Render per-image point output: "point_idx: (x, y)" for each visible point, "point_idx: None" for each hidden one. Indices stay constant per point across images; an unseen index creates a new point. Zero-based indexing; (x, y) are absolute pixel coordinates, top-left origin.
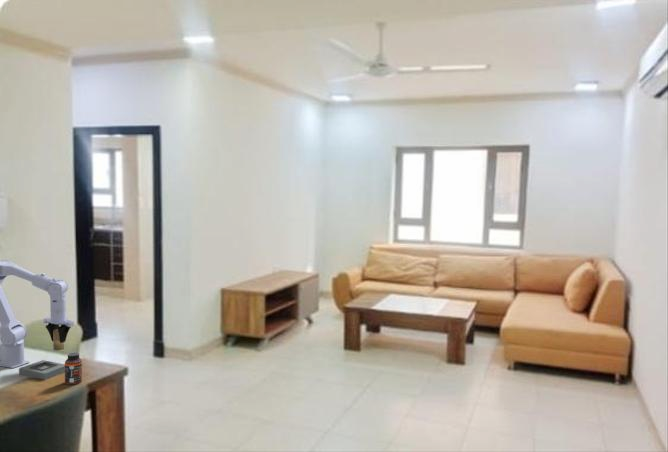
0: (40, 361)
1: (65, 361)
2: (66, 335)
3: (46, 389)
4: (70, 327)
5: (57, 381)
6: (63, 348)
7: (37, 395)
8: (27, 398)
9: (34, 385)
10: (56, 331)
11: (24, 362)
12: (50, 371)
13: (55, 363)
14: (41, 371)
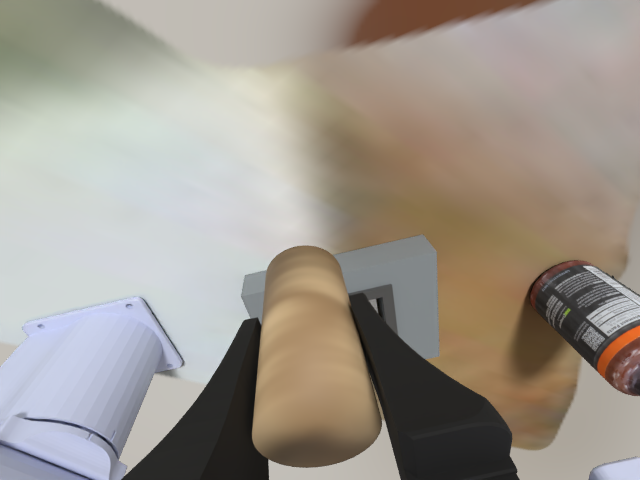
0: (258, 311)
1: (626, 393)
2: (392, 332)
3: (510, 361)
4: (475, 395)
5: (487, 314)
6: (337, 262)
7: (521, 388)
8: (510, 407)
9: (441, 370)
10: (345, 454)
11: (141, 319)
12: (438, 335)
13: (356, 280)
14: None
